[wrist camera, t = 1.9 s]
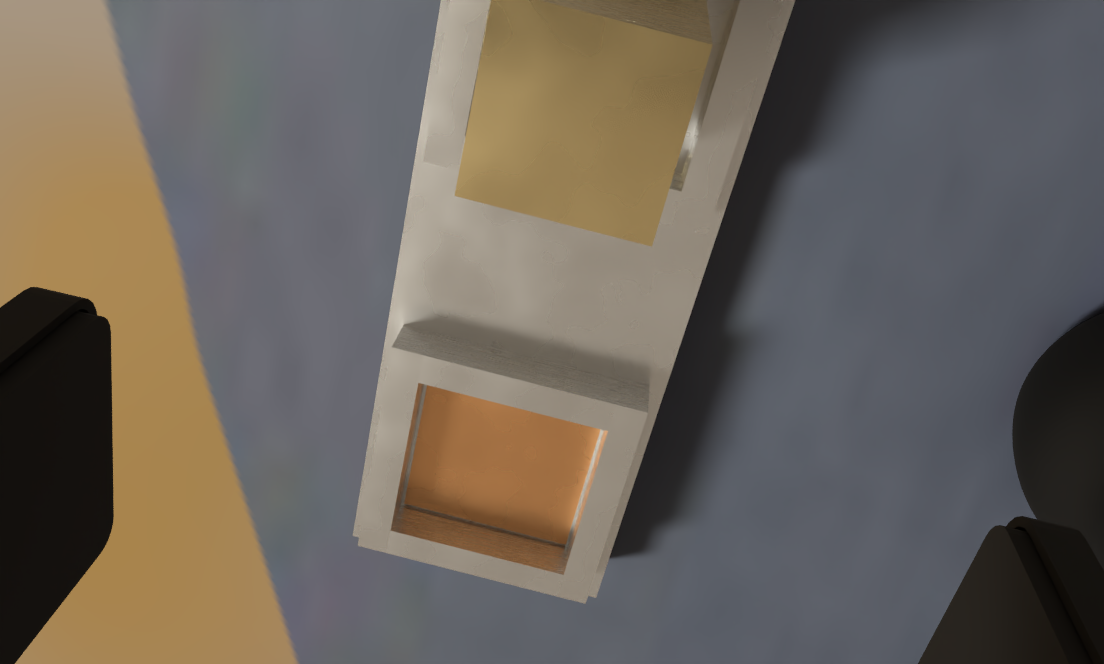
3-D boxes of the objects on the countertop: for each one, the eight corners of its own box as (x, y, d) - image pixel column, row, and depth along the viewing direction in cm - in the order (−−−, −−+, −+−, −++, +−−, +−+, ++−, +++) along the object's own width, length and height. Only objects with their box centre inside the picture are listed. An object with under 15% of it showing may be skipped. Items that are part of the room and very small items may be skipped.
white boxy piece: (489, -208, 26) (463, -211, 23) (823, -121, 26) (842, -113, 23) (368, 501, 37) (340, 563, 34) (600, 560, 37) (592, 628, 34)
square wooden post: (545, -60, 25) (493, -12, 18) (703, -20, 25) (712, 44, 18) (512, 97, 27) (454, 196, 20) (659, 135, 27) (651, 246, 20)
